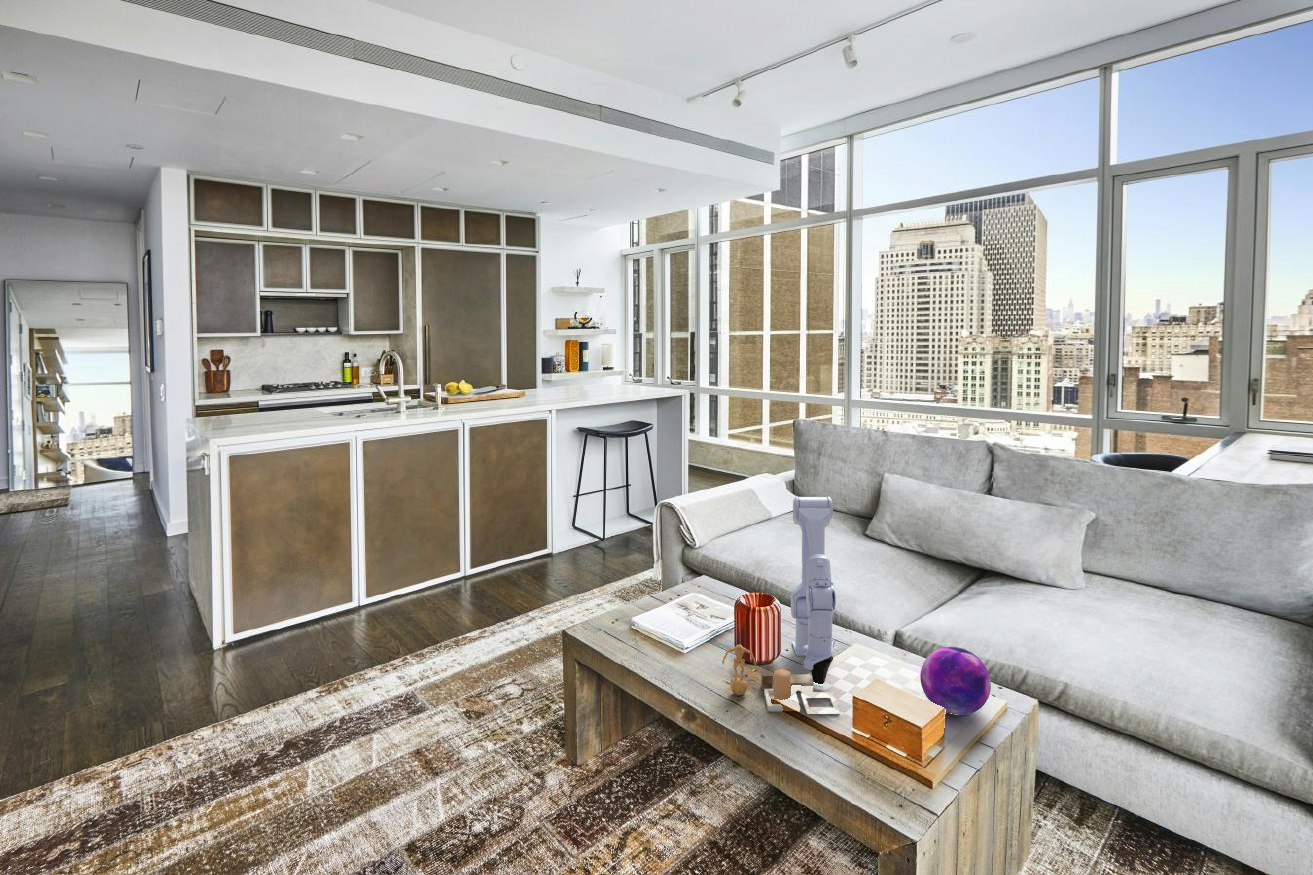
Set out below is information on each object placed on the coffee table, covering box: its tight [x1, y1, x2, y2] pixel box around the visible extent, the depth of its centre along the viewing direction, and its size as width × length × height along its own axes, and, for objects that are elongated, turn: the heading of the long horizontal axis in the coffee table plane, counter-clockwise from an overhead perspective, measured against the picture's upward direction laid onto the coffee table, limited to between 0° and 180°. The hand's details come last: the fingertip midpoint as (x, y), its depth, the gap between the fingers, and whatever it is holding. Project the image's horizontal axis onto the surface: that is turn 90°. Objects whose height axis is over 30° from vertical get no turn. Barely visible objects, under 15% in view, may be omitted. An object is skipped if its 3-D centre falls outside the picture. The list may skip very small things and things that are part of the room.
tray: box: [763, 688, 783, 713], centre depth 168 cm, size 8×8×2 cm
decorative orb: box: [920, 646, 992, 716], centre depth 162 cm, size 15×15×15 cm
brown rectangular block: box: [760, 670, 774, 692], centre depth 174 cm, size 2×2×4 cm
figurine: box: [721, 644, 757, 696], centre depth 172 cm, size 8×6×12 cm
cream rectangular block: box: [791, 673, 814, 687], centre depth 174 cm, size 7×4×2 cm, turn 88°
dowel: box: [773, 668, 792, 700], centre depth 167 cm, size 4×4×7 cm
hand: (818, 684), depth 174 cm, fingers closed
